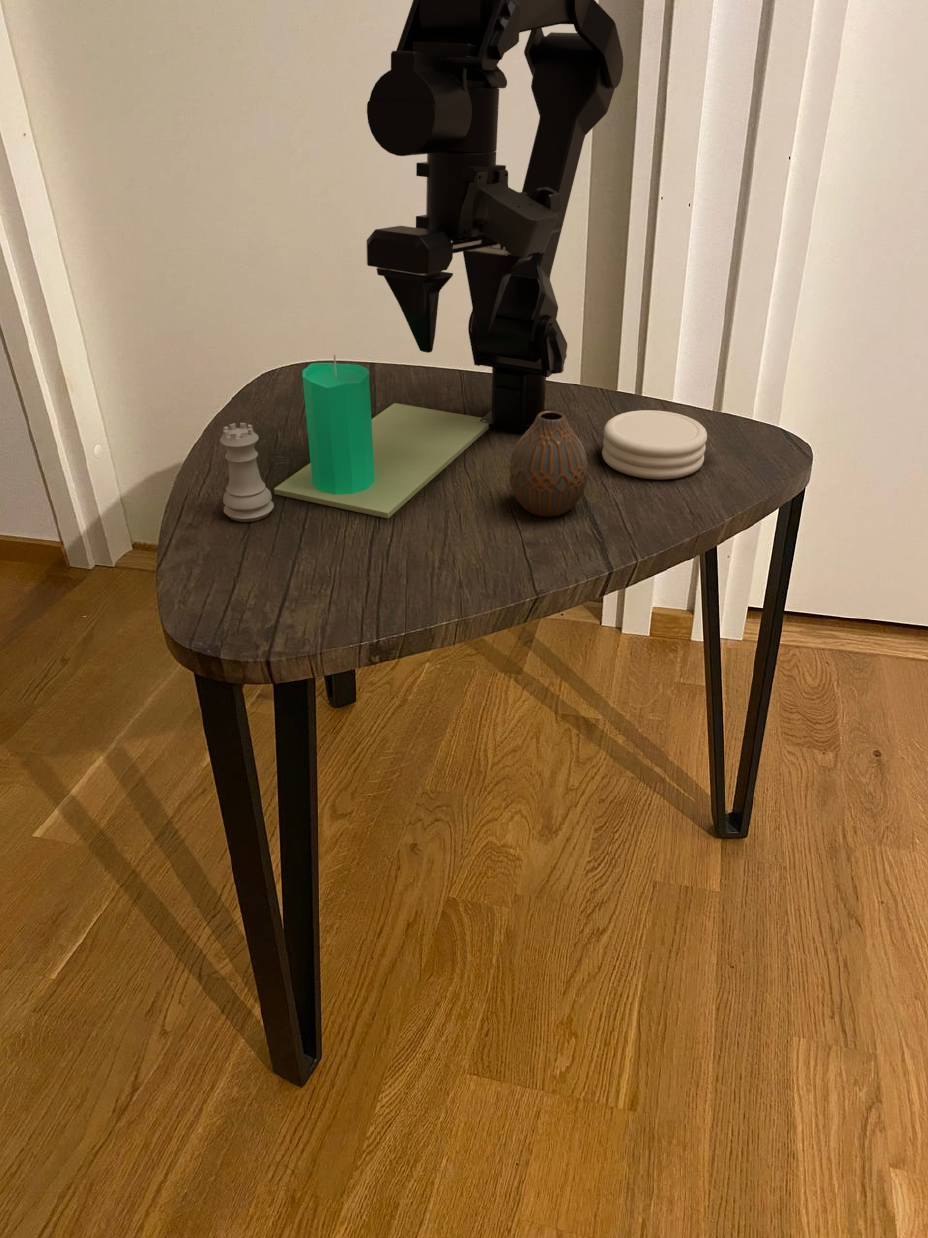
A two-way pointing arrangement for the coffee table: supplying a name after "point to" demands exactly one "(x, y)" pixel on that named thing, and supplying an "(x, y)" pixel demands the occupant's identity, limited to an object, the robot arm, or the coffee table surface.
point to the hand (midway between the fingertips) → (455, 342)
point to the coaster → (654, 444)
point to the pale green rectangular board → (397, 459)
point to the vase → (548, 466)
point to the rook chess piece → (244, 476)
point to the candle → (339, 427)
